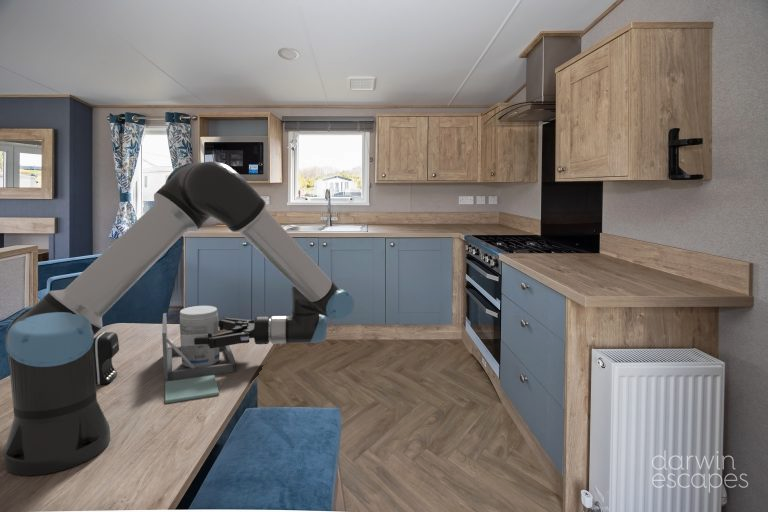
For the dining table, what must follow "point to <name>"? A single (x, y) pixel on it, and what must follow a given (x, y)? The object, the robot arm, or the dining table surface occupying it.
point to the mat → (190, 388)
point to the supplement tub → (199, 323)
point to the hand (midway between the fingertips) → (187, 332)
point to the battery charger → (105, 356)
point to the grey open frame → (192, 371)
